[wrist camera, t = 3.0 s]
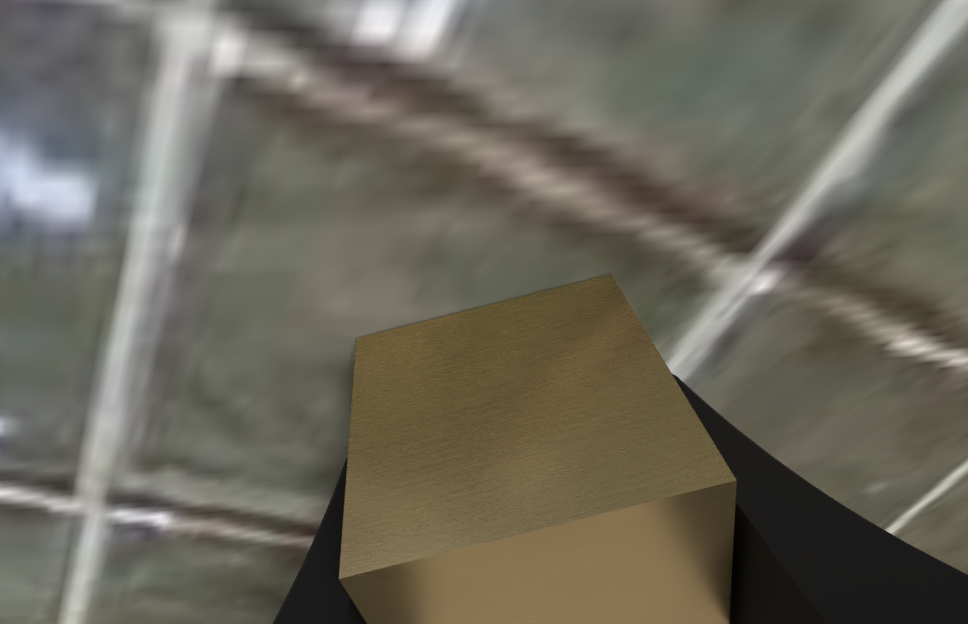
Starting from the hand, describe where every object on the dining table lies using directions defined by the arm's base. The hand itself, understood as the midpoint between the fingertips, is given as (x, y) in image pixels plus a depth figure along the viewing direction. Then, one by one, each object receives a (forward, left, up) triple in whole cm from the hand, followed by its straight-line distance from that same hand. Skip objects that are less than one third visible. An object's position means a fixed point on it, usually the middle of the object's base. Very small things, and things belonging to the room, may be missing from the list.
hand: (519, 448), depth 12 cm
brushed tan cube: (0, 0, -1) cm, 1 cm away
